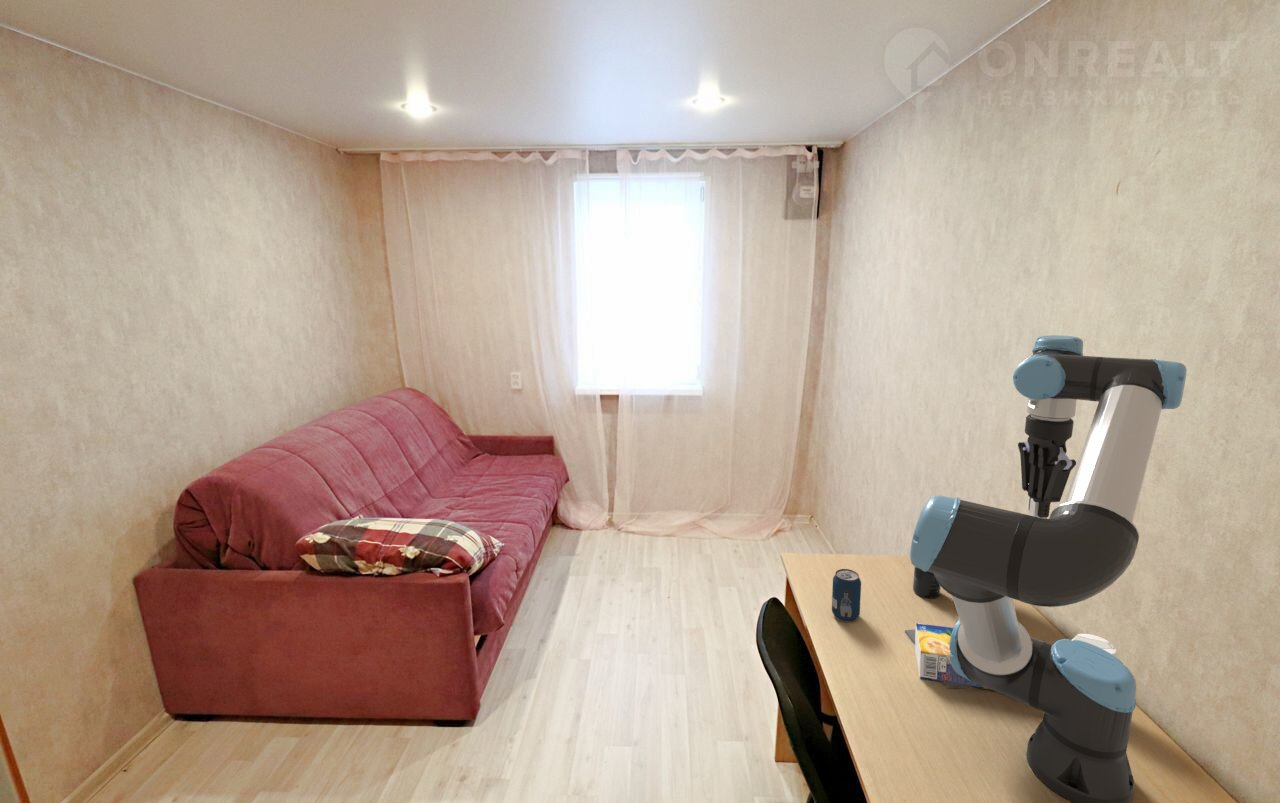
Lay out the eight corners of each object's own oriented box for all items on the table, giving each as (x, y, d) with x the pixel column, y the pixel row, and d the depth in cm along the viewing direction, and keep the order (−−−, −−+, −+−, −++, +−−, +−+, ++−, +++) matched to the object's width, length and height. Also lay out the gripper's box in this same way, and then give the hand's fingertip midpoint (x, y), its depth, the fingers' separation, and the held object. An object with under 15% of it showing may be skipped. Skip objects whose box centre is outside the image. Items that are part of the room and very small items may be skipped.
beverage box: (914, 648, 137) (1022, 663, 129) (919, 679, 127) (1036, 697, 119) (915, 622, 135) (1024, 636, 128) (920, 651, 125) (1039, 668, 118)
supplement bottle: (907, 589, 161) (909, 550, 159) (924, 583, 164) (927, 545, 161) (928, 601, 155) (931, 561, 152) (945, 595, 158) (949, 555, 155)
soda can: (849, 606, 154) (851, 566, 152) (865, 621, 148) (867, 579, 145) (826, 610, 153) (827, 569, 151) (840, 625, 146) (842, 583, 144)
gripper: (1008, 409, 117) (997, 517, 122) (1055, 425, 104) (1040, 545, 109) (1045, 407, 117) (1032, 515, 122) (1096, 424, 104) (1079, 543, 109)
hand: (1036, 529), depth 115 cm, fingers closed
